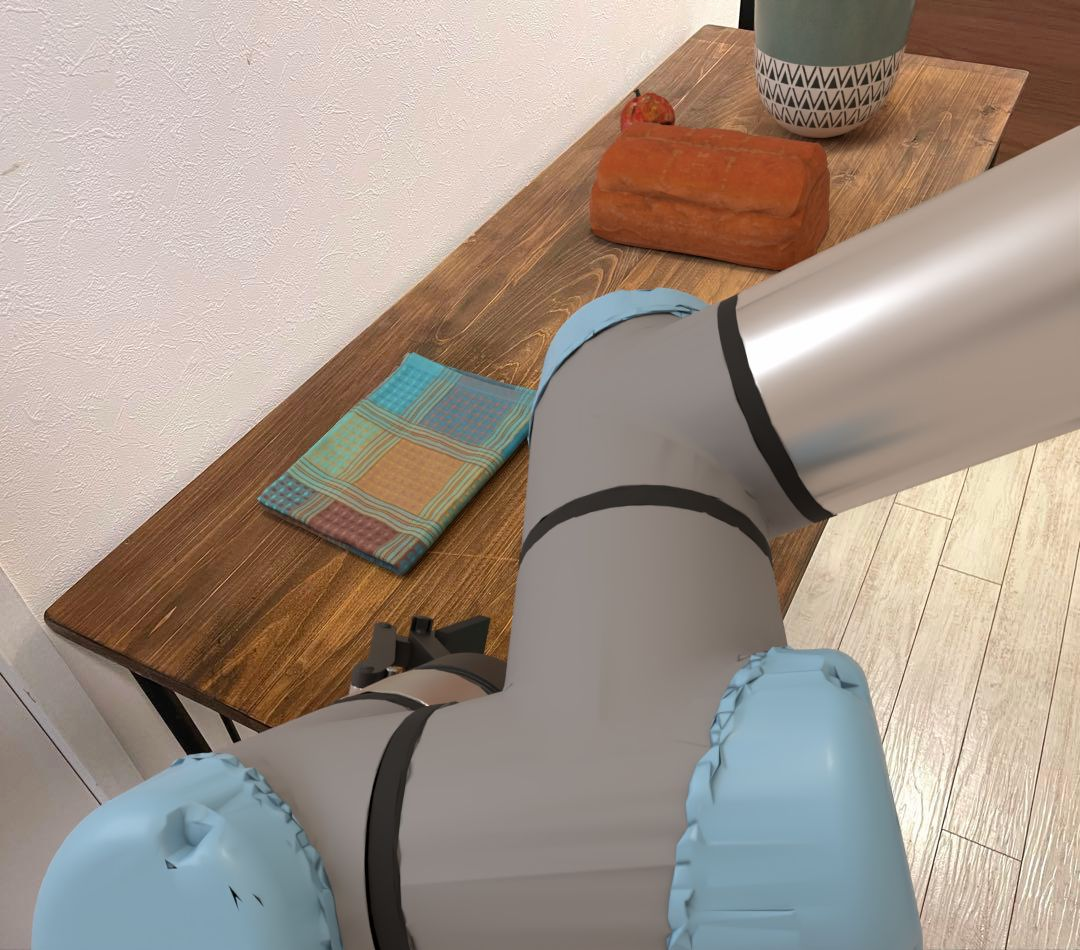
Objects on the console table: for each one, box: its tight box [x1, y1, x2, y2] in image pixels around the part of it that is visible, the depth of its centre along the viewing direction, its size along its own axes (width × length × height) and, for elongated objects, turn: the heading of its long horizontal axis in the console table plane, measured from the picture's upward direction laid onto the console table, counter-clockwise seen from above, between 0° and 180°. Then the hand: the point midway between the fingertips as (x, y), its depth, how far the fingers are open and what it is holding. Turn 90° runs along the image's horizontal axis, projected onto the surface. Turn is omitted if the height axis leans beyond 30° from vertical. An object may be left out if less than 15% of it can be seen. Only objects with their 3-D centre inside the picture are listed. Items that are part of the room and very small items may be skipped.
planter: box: [753, 0, 918, 139], centre depth 118 cm, size 20×20×21 cm
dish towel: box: [257, 352, 537, 577], centre depth 84 cm, size 17×23×2 cm
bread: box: [588, 121, 831, 271], centre depth 106 cm, size 16×27×11 cm, turn 64°
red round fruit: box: [619, 88, 676, 133], centre depth 124 cm, size 7×7×10 cm
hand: (586, 666), depth 54 cm, fingers open, 13 cm apart
